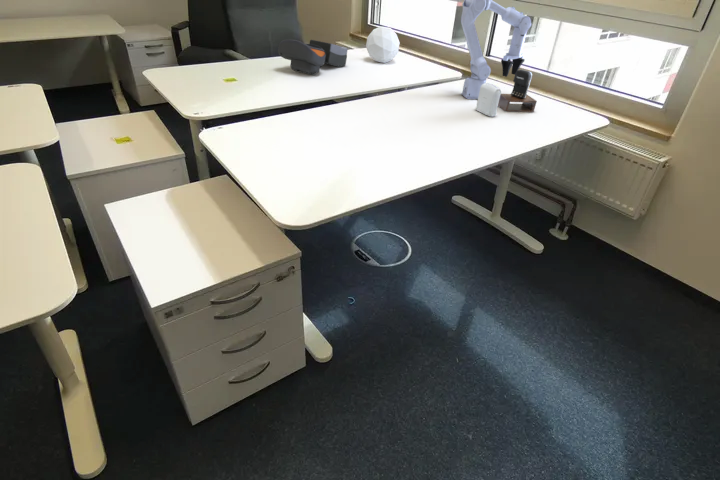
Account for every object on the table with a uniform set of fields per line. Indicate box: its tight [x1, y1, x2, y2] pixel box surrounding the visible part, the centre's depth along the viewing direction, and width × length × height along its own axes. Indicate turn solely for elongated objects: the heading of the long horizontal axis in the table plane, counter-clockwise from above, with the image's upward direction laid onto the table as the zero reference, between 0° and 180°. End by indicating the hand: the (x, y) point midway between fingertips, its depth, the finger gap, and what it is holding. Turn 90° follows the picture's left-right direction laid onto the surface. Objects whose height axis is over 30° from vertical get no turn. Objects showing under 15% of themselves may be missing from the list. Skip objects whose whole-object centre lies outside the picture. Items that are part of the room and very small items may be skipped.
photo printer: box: [475, 82, 502, 118], centre depth 184 cm, size 10×4×12 cm, turn 26°
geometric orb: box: [365, 26, 401, 64], centre depth 252 cm, size 19×20×20 cm
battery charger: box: [510, 69, 533, 98], centre depth 191 cm, size 7×4×11 cm, turn 38°
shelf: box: [498, 93, 538, 113], centre depth 195 cm, size 14×10×5 cm
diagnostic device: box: [277, 38, 348, 75], centre depth 228 cm, size 38×17×22 cm
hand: (509, 75), depth 205 cm, fingers open, 7 cm apart
